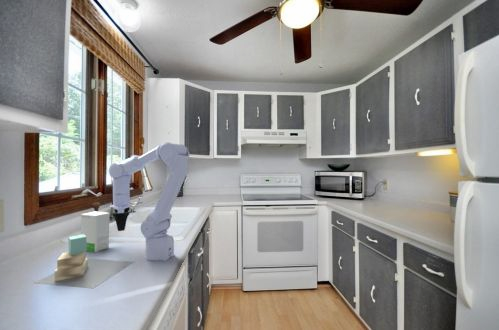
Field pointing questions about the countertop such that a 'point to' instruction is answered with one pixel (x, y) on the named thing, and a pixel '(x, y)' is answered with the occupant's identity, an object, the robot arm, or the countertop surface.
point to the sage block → (77, 244)
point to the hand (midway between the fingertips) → (121, 228)
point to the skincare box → (95, 230)
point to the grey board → (90, 274)
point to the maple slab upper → (70, 260)
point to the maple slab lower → (71, 272)
